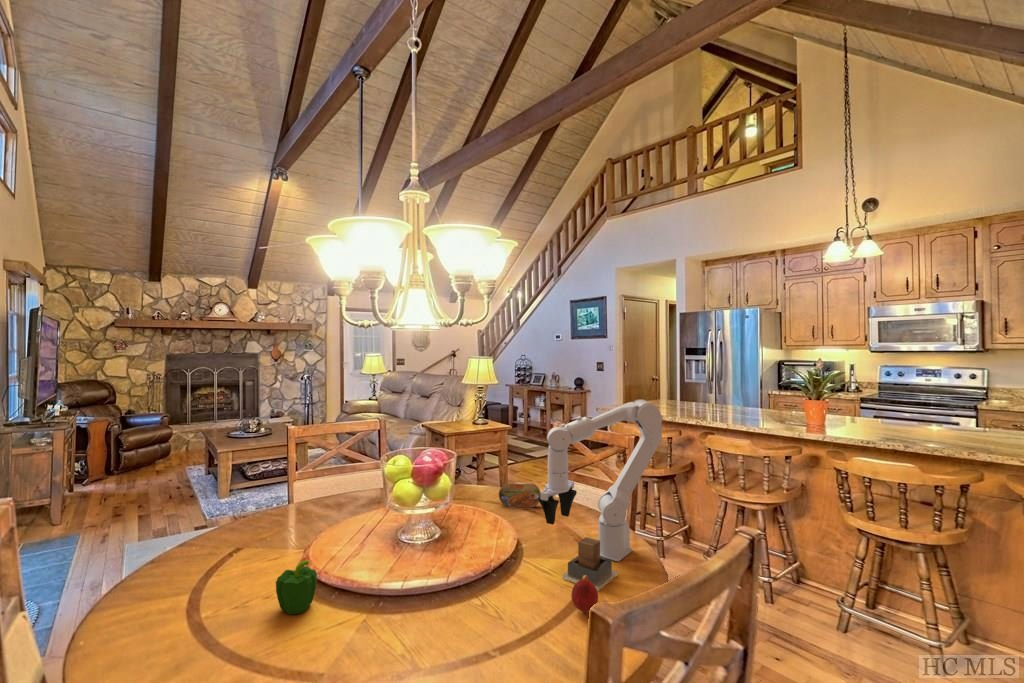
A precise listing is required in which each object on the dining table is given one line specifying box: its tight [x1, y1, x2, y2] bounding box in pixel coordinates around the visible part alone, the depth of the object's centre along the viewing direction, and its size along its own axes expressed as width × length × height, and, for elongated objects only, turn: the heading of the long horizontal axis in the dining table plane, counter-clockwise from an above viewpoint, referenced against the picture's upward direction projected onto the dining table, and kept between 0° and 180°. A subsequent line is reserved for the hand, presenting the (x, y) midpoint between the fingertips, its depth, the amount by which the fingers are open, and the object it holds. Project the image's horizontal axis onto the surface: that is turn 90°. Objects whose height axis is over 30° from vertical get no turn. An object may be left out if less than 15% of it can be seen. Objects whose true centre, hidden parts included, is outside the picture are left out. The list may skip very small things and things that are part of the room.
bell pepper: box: [275, 559, 318, 616], centre depth 110 cm, size 8×8×10 cm
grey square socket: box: [561, 555, 618, 592], centre depth 125 cm, size 10×10×4 cm
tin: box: [498, 481, 542, 509], centre depth 178 cm, size 15×3×8 cm, turn 80°
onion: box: [571, 575, 599, 614], centre depth 108 cm, size 6×6×8 cm
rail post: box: [577, 536, 601, 569], centre depth 125 cm, size 4×4×8 cm
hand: (557, 519), depth 139 cm, fingers open, 7 cm apart
